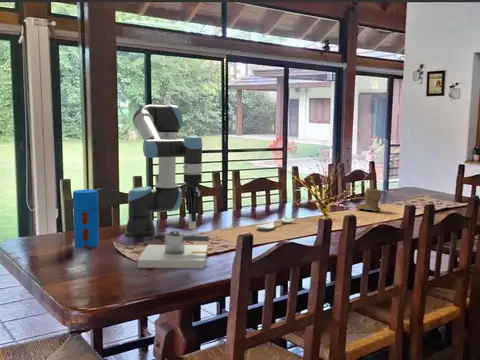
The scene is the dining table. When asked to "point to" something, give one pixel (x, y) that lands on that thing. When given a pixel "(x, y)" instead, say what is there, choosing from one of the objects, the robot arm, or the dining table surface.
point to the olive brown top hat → (371, 200)
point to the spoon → (271, 225)
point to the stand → (173, 257)
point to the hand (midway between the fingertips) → (192, 228)
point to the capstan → (180, 241)
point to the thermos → (86, 218)
